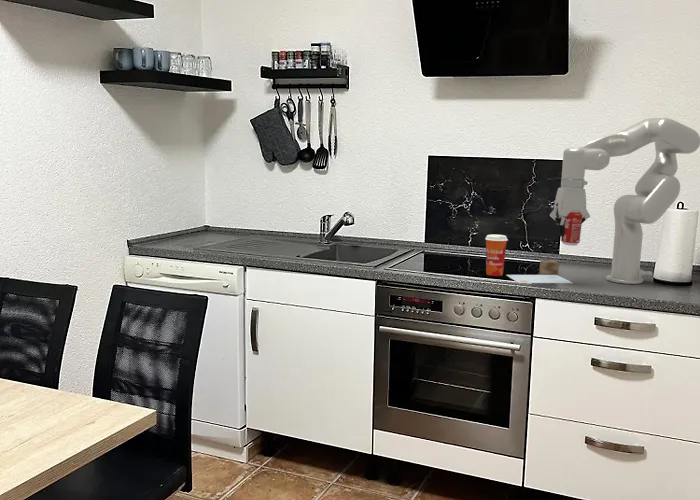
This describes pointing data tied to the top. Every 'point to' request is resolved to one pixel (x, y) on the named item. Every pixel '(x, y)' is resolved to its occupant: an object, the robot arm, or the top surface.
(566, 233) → the beverage can
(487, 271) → the coffee cup
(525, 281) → the envelope
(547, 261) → the walnut block
